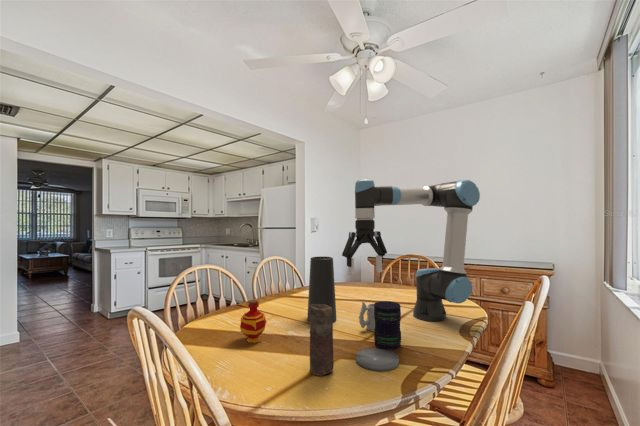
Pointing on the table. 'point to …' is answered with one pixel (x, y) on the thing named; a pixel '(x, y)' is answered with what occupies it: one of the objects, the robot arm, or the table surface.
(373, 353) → the disc
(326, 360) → the candle
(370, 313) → the mug
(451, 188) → the robot arm
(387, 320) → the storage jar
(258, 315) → the potion bottle
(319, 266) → the vase
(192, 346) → the table surface
